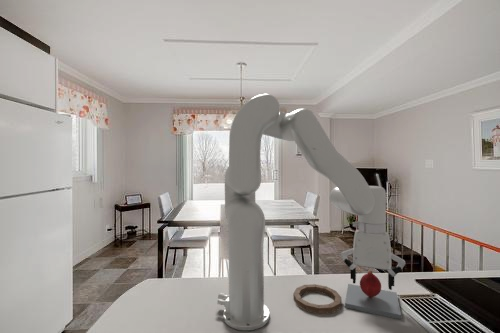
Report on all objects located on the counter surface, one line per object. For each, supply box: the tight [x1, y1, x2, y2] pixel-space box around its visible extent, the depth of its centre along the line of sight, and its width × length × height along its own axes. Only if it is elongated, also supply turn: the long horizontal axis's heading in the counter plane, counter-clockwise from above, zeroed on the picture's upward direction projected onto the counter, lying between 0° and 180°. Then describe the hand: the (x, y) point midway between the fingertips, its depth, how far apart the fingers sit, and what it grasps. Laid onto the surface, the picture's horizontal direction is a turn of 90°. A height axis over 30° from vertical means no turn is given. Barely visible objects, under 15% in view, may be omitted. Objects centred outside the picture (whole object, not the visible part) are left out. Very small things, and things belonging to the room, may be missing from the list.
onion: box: [359, 269, 382, 298], centre depth 76 cm, size 6×6×8 cm
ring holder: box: [292, 283, 342, 315], centre depth 77 cm, size 14×14×2 cm
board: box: [344, 283, 402, 320], centre depth 76 cm, size 14×13×1 cm
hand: (371, 284), depth 76 cm, fingers open, 9 cm apart
